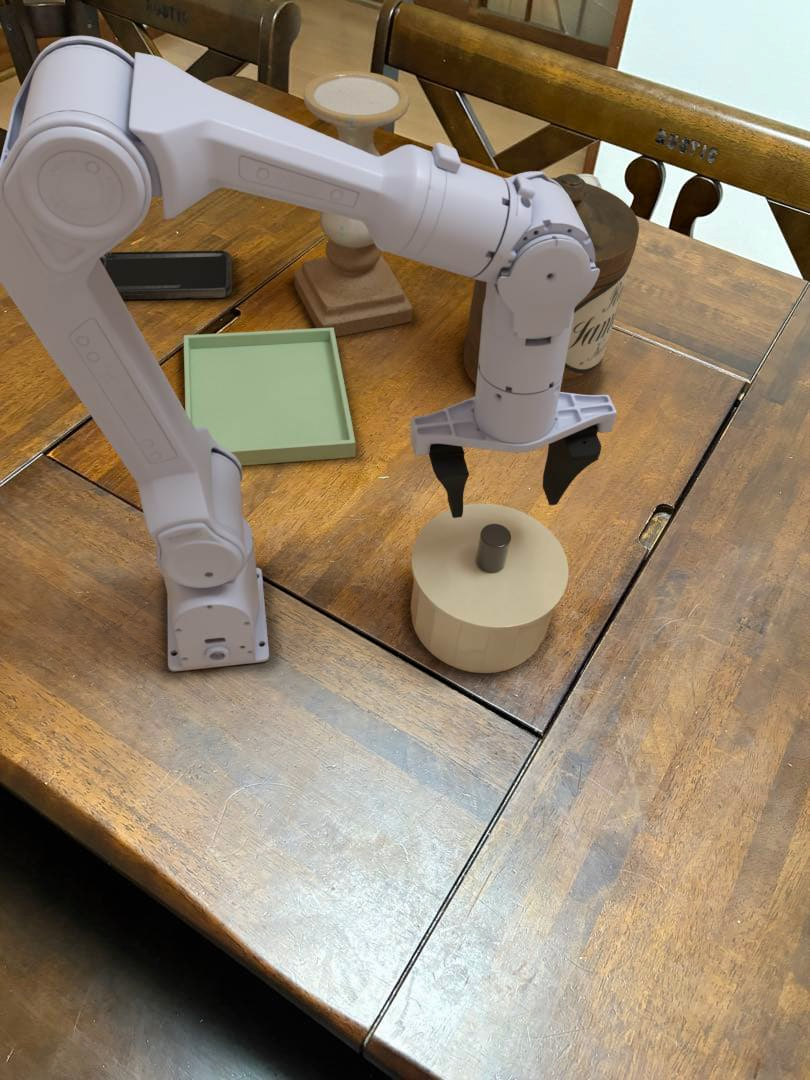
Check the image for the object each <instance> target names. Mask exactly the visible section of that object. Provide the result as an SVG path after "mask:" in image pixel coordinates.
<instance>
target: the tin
mask: <svg viewBox="0 0 810 1080" xmlns="http://www.w3.org/2000/svg"><path fill="white" fill-rule="evenodd" d="M409 609H410V615H411V621H412V626H413V629H414V632H415V634H416V636H417V638H418V639H419V641H420V642H421V644H422V645H423V646H424V647H425V648H426V650H428V651H429V653H431V654H432V655H433V656H434V657H435V658H437V659H438V660H439V661H441V662H443V663H445V664H446V665H448V666H451V667H453V668H455V669H458V670H460V671H465V672H470V673H477V674H494V673H499V672H505V671H507V670H510V669H513V668H515V667H517V666H520V665H522V664H523V663H524V662H526V661H527V660H529V658H531V657H532V656H533V655H534V654H535V653H536V652H537V650H539V647H540V646H541V644H542V643H543V641H544V640H545V637H546V634H547V631H548V628H549V625H550V622H551V619H552V616H553V613H554V610H555V608H554V609H553V611H552V612H550V613H549V614H548V615H547V616H545V617H544V618H542V619H541V620H539V621H537V622H535V623H533V624H531V625H528V626H525V627H522V628H518V629H512V630H502V631H493V630H483V629H477V628H473V627H469V626H466V625H463V624H461V623H458V622H456V621H454V620H452V619H450V618H448V617H446V616H445V615H443V614H442V613H440V612H439V611H438V610H436V609H435V608H434V607H433V606H432V605H431V604H430V603H429V602H428V601H427V600H426V599H425V598H424V596H423V595H422V593H421V592H420V590H419V589H418V587H417V585H416V583H415V580H414V579H413V583H412V591H411V599H410V608H409Z"/></svg>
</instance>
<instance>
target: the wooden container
mask: <svg viewBox="0 0 810 1080" xmlns="http://www.w3.org/2000/svg"><path fill="white" fill-rule="evenodd" d="M577 175H578V174H574V173H565V174H562V175H559V176H556V177H549V178H550V179H553V180H554V181H556V182H557V183H558V184H560V185H561V186H562V188H563V189H564V190H565V192H566V193H567V194H568V195H569V197H570V199H571V201H572V203H573V205H574V207H575V209H576V211H577V213H578V215H579V217H580V219H581V221H582V223H583V225H584V227H585V229H586V231H587V233H588V235H589V237H590V239H591V241H592V243H593V246H594V249H595V265H596V268H599V270H600V272H599V276H598V279H597V281H596V283H595V285H594V286H593V288H592V289H591V291H590V292H589V293H588V294H587V296H586V297H585V298H584V299H583V300H582V301H580V302H579V303H578V304H577V306H576V307H575V309H574V318H573V324H572V329H571V335H570V340H569V346H568V351H567V357H566V362H565V368H564V373H563V378H562V383H561V389H560V392H564V393H573V394H581V395H589V394H590V393H591V391H592V390H593V388H594V387H595V384H596V382H597V379H598V377H599V373H600V370H601V366H602V363H603V359H604V356H605V353H606V351H607V347H608V344H609V341H610V337H611V335H612V330H613V327H614V323H615V320H616V316H617V312H618V308H619V305H620V300H621V296H622V293H623V290H624V286H625V283H626V279H627V275H628V272H629V268H630V265H631V262H632V259H633V256H634V254H635V250H636V248H637V247H636V246H637V244H638V243H637V242H638V238H639V235H640V224H639V220H638V218H637V216H636V214H635V212H634V210H632V208H631V207H630V206H629V205H628V204H627V202H625V201H624V200H622V199H621V198H620V197H618V196H617V195H615V194H613V193H612V192H610V191H608V190H606V189H604V188H602V189H601V188H599V187H597V186H593V185H590V184H587V183H586V182H585V181H584V180H583V179H581V178H580V177H579V176H577ZM474 280H475V281H474V286H473V292H472V297H471V303H470V309H469V316H468V322H467V329H466V330H467V331H466V335H465V336H466V337H465V343H464V350H463V366H464V369H465V372H466V374H467V376H468V378H469V379H470V380H471V382H472V383H473V384H474V386H476V382H477V371H478V360H479V349H480V337H481V326H482V314H483V305H484V301H485V297H486V286H487V282H484V281H479V280H476V279H474Z"/></svg>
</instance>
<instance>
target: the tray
mask: <svg viewBox="0 0 810 1080" xmlns="http://www.w3.org/2000/svg"><path fill="white" fill-rule="evenodd" d="M183 363H184V365H183V366H184V367H183V368H184V369H183V370H184V407H185V408H184V410H185V412H186V413H187V415H188V417H189V419H190V421H191V422H192V424H193V426H194V427H205V428H207V429H208V430H209V432H210V434H211V436H212V437H213V439H214V440H215V441H216V442H217V443H218V444H219V445H220V446H222V447H223V448H225V449H227V450H228V451H230V452H231V453H232V454H234V455H235V456H236V458H237V459H238V460H239V462H240V464H241V467H242V466H254V465H255V466H256V465H268V464H269V465H270V464H282V463H293V462H294V463H295V462H306V461H307V462H308V461H309V462H310V461H322V460H335V459H336V460H337V459H348V458H350V459H351V458H355V457H356V448H357V447H356V445H357V444H356V437H355V432H354V427H353V422H352V416H351V411H350V406H349V401H348V396H347V395H348V394H347V390H346V384H345V380H344V375H343V370H342V364H341V358H340V354H339V348H338V342H337V338H336V337H335V332H334V328H316V327H315V328H299V329H281V330H280V329H278V330H261V331H260V330H259V331H241V332H239V331H238V332H224V333H202V334H184V335H183Z"/></svg>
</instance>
